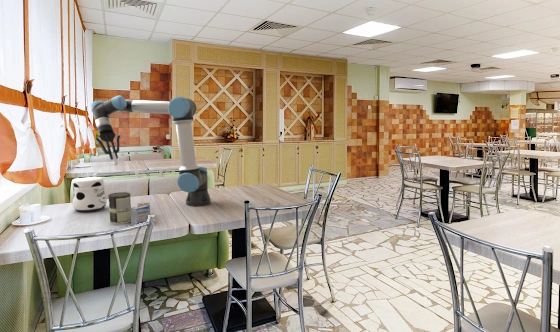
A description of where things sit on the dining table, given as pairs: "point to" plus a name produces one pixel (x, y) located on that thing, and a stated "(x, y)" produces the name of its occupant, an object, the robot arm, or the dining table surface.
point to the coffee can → (120, 207)
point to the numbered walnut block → (143, 204)
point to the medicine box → (139, 214)
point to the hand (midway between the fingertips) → (116, 164)
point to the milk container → (89, 194)
